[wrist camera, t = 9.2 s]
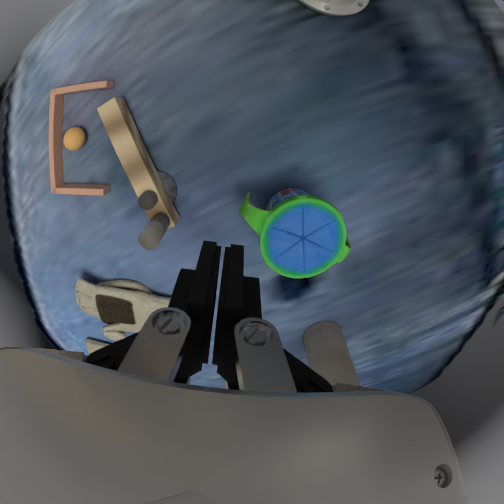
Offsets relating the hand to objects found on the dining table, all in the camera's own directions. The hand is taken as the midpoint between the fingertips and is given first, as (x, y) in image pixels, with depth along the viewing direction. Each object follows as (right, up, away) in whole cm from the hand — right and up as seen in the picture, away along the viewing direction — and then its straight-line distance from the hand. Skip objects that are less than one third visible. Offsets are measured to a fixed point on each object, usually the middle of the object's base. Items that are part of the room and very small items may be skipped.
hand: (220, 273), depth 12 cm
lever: (-14, +14, +24) cm, 31 cm away
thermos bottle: (+16, -16, +42) cm, 48 cm away
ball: (-27, +18, +21) cm, 38 cm away
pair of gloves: (-23, -17, +42) cm, 51 cm away
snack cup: (+7, +7, +29) cm, 31 cm away
